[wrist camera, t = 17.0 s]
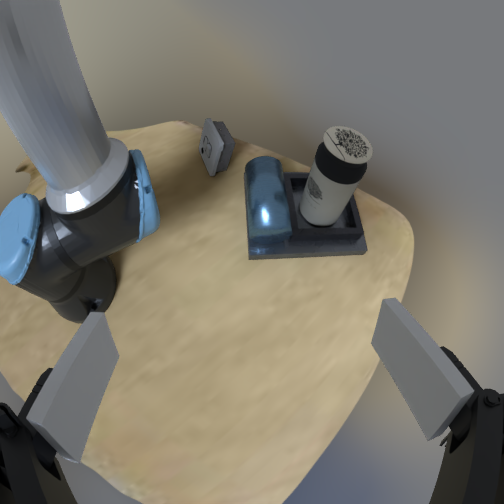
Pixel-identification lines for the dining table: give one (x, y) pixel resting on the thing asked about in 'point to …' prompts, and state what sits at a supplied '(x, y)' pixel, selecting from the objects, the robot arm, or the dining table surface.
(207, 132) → the electrical switch
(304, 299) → the dining table surface
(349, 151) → the travel mug
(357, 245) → the base
